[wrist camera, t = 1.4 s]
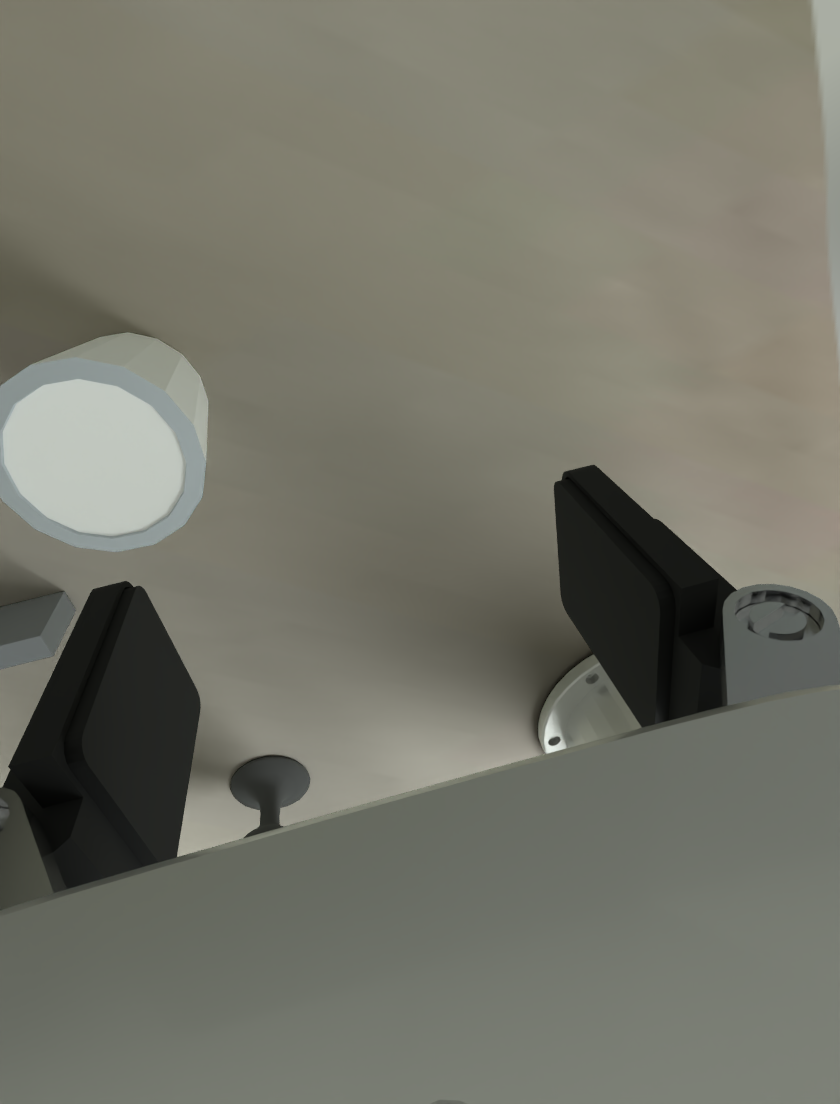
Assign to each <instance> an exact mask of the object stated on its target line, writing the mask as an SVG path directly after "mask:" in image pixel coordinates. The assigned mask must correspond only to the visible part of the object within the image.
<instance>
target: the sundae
mask: <svg viewBox="0 0 840 1104" xmlns="http://www.w3.org/2000/svg"><path fill="white" fill-rule="evenodd" d="M309 784H310V777H309V774H308V772H307V770H306V769H305V768H304V767H303V766H302V765H301V764H300V763H298V762H297V761H294V760H292V759H289V758H285V757H276V756H274V757H264V758H259V759H256V760H253V761H251V762H249V763H247V764H245V765H244V766H242V767H241V768H239V770H238V771H237V772H236V773H235V774H234V776H233V777H232V780H231V791H232V794H233V795H234V797H235V798H236V799H237V800H238V801H239V802H240V803H241V804H243V805H245V806H247V807H250V808H253V809H257V810H260V812H261V816H260V826H259V827H258V828H257V829H255V830H253V831H251V832H250V833H248V834H247V835H246V836H245V837H244V838H246V837H250V836H253V835H257V834H260V833H264V832H267V831H271V830H274V829H278V828H281V827H283V826H280V825H279V814H280V808H282V807H286V806H288V805H291V804H293V803H295V802H296V801H298V800H299V799H300V798H301V797H302V796H303V795H304V794H305V793H306V791H307V790H308V787H309Z"/></svg>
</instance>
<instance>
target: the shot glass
mask: <svg viewBox="0 0 840 1104" xmlns="http://www.w3.org/2000/svg"><path fill="white" fill-rule="evenodd" d="M208 403H209V402H208V398H207V395H206V392H205V389H204V386H203V383H202V380H201V377H200V375H199V374H198V373H197V372H196V370H195V369H194V368H193V367H192V365H191V364H190V363H189V362H188V360H187V359H186V358H185V357H184V355H183V354H181V353H180V352H178V351H176V350H175V349H173V348H172V347H170V346H168V345H167V344H165V343H163V342H162V341H160V340H159V339H157V338H152V337H148V336H143V335H138V334H134V333H129V332H126V333H120V334H114V335H109V336H103V337H99V338H96V339H94V340H91V341H89V342H86V343H84V344H81V345H79V346H76V347H74V348H71V349H69V350H66V351H64V352H61V353H58V354H56V355H53V356H51V357H48V358H46V359H43V360H41V361H38V362H36V363H33V364H31V365H29V366H28V367H26V368H25V369H23V370H22V371H20V372H19V373H18V374H16V375H15V376H13V377H12V378H11V379H9V380H8V381H6V382H5V383H3V384H2V385H1V386H0V497H1V499H2V501H3V502H4V503H5V504H7V505H8V506H9V507H10V508H11V509H12V510H13V511H15V512H16V513H17V514H18V515H19V516H20V517H21V518H23V519H24V520H25V521H26V522H27V523H28V524H29V525H31V526H32V527H33V528H34V529H35V530H37V531H40V532H42V533H44V534H46V535H49V536H51V537H53V538H56V539H58V540H60V541H62V542H65V543H67V544H69V545H71V546H74V547H78V548H86V549H94V550H103V551H111V552H120V551H125V550H130V549H135V548H140V547H145V546H150V545H155V544H156V543H158V542H159V541H161V540H162V539H164V538H166V537H167V536H169V535H170V534H172V533H173V532H175V531H176V530H178V529H180V528H181V527H183V526H184V525H185V524H186V522H187V520H188V519H189V517H190V516H191V514H192V513H193V511H194V510H195V508H196V506H197V505H198V503H199V502H200V500H201V499H202V497H203V488H204V478H205V469H206V455H207V429H208Z"/></svg>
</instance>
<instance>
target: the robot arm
mask: <svg viewBox="0 0 840 1104" xmlns="http://www.w3.org/2000/svg"><path fill="white" fill-rule="evenodd" d="M554 497H555V512H556V528H557V543H558V559H559V574H560V590H561V598H562V602H563V606H564V608H565V610H566V612H567V614H568V615H569V617H570V618H571V620H572V621H573V623H574V625H575V626H576V628H577V629H578V631H579V632H580V634H581V635H582V637H583V638H584V640H585V641H586V643H587V644H588V646H589V648H590V649H591V651H592V652H593V655H592V656H590V657H588V658H586V659H585V660H583V661H582V662H581V663H579V664H578V665H577V666H576V667H574V668H573V669H572V670H570V671H569V672H568V673H567V674H566V675H565V676H564V677H563V678H562V679H561V680H560V682H559V683H558V684H557V685H556V686H555V688H554V689H553V690H552V692H551V693H550V695H549V696H548V698H547V700H546V702H545V704H544V706H543V708H542V710H541V714H540V718H539V723H538V737H539V740H540V743H541V746H542V749H543V751H544V753H545V754H544V755H540V756H536V757H533V758H529V759H525V760H522V761H518V762H515V763H511V764H507V765H504V766H500V767H496V768H493V769H489V770H485V771H482V772H478V773H475V774H471V775H467V776H464V777H460V778H457V779H453V780H449V781H446V782H442V783H439V784H435V785H431V786H428V787H424V788H421V789H417V790H413V791H410V792H406V793H403V794H399V795H395V796H392V797H388V798H385V799H381V800H378V801H374V802H370V803H367V804H363V805H360V806H356V807H353V808H349V809H345V810H342V811H338V812H335V813H331V814H328V815H324V816H320V817H317V818H313V819H310V820H306V821H303V822H299V823H296V824H292V825H289V826H285V827H281V828H278V829H274V830H271V831H267V832H264V833H260V834H257V835H253V836H250V837H246V838H243V839H239V840H236V841H232V842H229V843H225V844H222V845H218V846H215V847H211V848H208V849H204V850H201V851H197V852H194V853H190V854H187V855H183V856H180V857H177V852H178V845H179V839H180V833H181V827H182V821H183V814H184V808H185V802H186V796H187V789H188V783H189V777H190V771H191V764H192V758H193V752H194V746H195V740H196V733H197V727H198V721H199V715H200V698H199V694H198V691H197V689H196V687H195V685H194V683H193V681H192V679H191V677H190V675H189V673H188V672H187V670H186V668H185V666H184V664H183V662H182V660H181V658H180V656H179V654H178V652H177V650H176V649H175V647H174V645H173V643H172V641H171V639H170V637H169V635H168V633H167V631H166V629H165V627H164V626H163V624H162V622H161V620H160V618H159V616H158V614H157V612H156V610H155V608H154V606H153V604H152V603H151V601H150V599H149V597H148V595H147V593H146V591H145V590H144V589H143V588H142V587H141V586H136V587H133V586H132V585H131V584H130V583H129V582H127V581H124V582H120V583H116V584H112V585H108V586H104V587H100V588H96V589H93V590H92V592H91V593H90V595H89V597H88V599H87V601H86V604H85V606H84V608H83V610H82V612H81V614H80V616H79V618H78V620H77V623H76V625H75V627H74V629H73V631H72V633H71V635H70V637H69V640H68V642H67V644H66V646H65V648H64V650H63V652H62V654H61V656H60V659H59V661H58V663H57V665H56V667H55V669H54V671H53V673H52V675H51V678H50V680H49V682H48V684H47V686H46V688H45V690H44V692H43V695H42V697H41V699H40V701H39V703H38V705H37V707H36V709H35V711H34V714H33V716H32V718H31V720H30V722H29V724H28V726H27V728H26V731H25V733H24V735H23V737H22V739H21V741H20V743H19V745H18V747H17V750H16V752H15V754H14V756H13V758H12V760H11V762H10V764H9V766H8V767H9V768H10V769H11V770H10V772H9V774H8V776H7V779H6V781H5V783H4V785H3V787H2V788H0V1104H840V628H839V624H838V620H837V618H836V616H835V614H834V612H833V610H832V609H831V608H830V607H829V606H828V605H827V604H826V603H825V602H823V601H822V600H821V599H820V598H818V597H816V596H814V595H812V594H810V593H808V592H806V591H803V590H800V589H796V588H793V587H790V586H783V585H776V584H757V585H752V586H748V587H743V588H741V589H739V590H736V589H735V588H734V587H733V586H732V585H731V584H730V583H728V582H727V581H726V580H725V579H724V578H723V577H722V576H721V575H720V574H718V573H717V572H716V571H715V570H714V569H713V568H712V567H711V566H710V565H709V564H707V563H706V562H705V561H704V560H703V559H702V558H701V557H700V556H699V555H697V554H696V553H695V552H694V551H693V550H692V549H691V548H690V547H689V546H688V545H686V544H685V543H684V542H683V541H682V540H681V539H680V538H679V537H678V536H676V535H675V534H674V533H673V532H672V531H671V530H670V529H669V528H668V527H667V526H665V525H664V524H663V523H662V522H661V521H659V520H657V519H653V518H652V517H651V516H650V515H649V514H648V513H647V512H646V511H645V510H644V509H642V508H641V507H640V506H639V505H638V504H637V503H636V502H635V501H634V500H633V499H632V498H630V497H629V496H628V495H627V494H626V493H625V492H624V491H623V490H622V489H621V488H620V487H618V486H617V485H616V484H615V483H614V482H613V481H612V480H611V479H610V478H609V477H608V476H606V475H605V474H604V473H603V472H602V471H601V470H600V469H599V468H598V467H597V466H595V465H590V466H586V467H582V468H578V469H574V470H570V471H566V472H564V473H563V476H562V480H561V481H557V482H555V485H554Z"/></svg>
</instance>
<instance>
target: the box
mask: <svg viewBox="0 0 840 1104" xmlns="http://www.w3.org/2000/svg"><path fill="white" fill-rule="evenodd" d="M75 611H76V610H75V608H74V606H73V605H72V603H71V601H70V600H69V598H68V596H67V595H66V593H65V592H64V591H63V592H59V593H55V594H51V595H47V596H43V597H39V598H35V599H31V600H27V601H23V602H19V603H15V604H10V605H6V606H2V607H0V669H4V668H8V667H12V666H16V665H20V664H24V663H28V662H32V661H36V660H40V659H44V658H48V657H52V656H54V654H55V652H56V650H57V648H58V646H59V644H60V642H61V640H62V638H63V636H64V634H65V632H66V630H67V628H68V626H69V624H70V621H71V619H72V617H73V615H74V613H75Z"/></svg>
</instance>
